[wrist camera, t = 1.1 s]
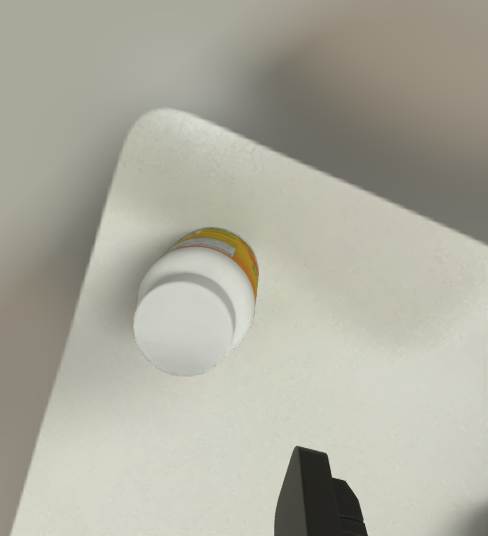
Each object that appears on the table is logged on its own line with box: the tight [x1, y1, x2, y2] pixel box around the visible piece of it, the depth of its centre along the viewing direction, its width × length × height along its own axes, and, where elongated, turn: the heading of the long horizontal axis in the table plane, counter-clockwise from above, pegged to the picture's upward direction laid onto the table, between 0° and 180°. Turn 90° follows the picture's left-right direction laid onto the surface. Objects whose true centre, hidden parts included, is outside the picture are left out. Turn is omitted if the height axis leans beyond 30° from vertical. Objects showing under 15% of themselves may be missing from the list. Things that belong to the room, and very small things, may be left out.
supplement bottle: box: [133, 228, 259, 376], centre depth 21 cm, size 5×5×10 cm
